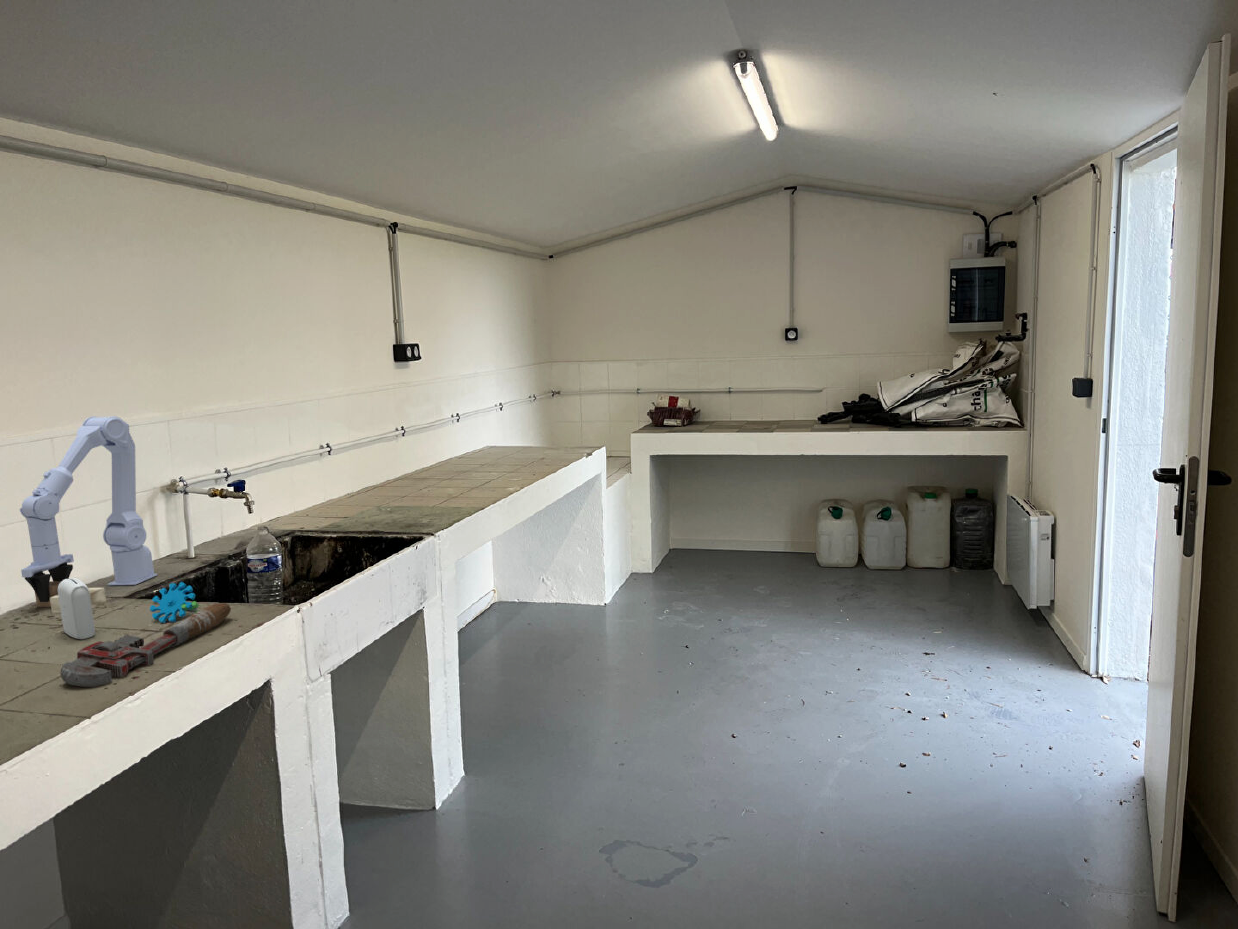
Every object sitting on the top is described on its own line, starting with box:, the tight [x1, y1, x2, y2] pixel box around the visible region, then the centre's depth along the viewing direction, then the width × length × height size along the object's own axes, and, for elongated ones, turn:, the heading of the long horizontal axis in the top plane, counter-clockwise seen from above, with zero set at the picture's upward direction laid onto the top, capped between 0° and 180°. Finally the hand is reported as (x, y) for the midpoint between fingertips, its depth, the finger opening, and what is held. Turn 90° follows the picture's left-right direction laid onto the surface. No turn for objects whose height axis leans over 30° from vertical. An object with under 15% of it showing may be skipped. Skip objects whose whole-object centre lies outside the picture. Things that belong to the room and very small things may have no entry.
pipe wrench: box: [60, 602, 232, 688], centre depth 182 cm, size 40×12×5 cm, turn 168°
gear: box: [149, 581, 200, 624], centre depth 204 cm, size 11×6×10 cm
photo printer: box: [58, 577, 96, 640], centre depth 194 cm, size 10×4×12 cm, turn 47°
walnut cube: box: [34, 580, 62, 608], centre depth 220 cm, size 5×5×5 cm
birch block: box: [50, 587, 107, 614], centre depth 216 cm, size 8×8×4 cm
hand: (53, 598), depth 221 cm, fingers closed on walnut cube, 5 cm apart
